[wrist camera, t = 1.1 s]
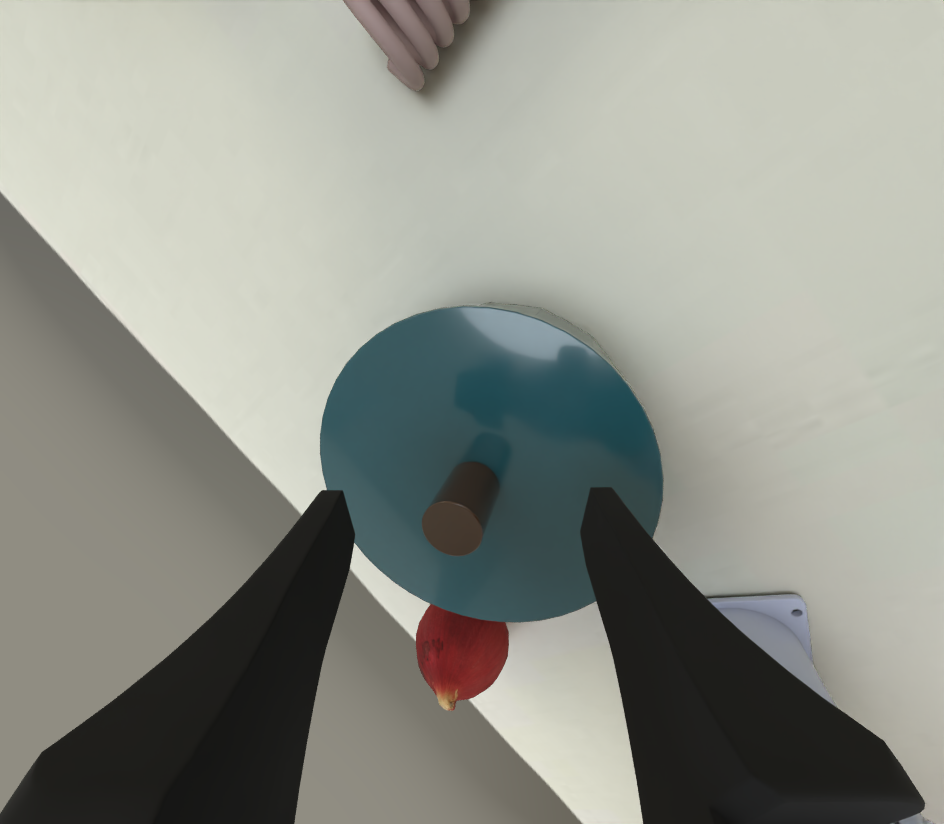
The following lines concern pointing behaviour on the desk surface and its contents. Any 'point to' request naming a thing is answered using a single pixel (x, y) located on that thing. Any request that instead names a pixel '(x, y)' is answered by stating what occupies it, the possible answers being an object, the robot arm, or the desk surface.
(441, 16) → the coil
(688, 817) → the robot arm
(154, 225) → the desk surface
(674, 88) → the desk surface
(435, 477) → the pot lid
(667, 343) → the desk surface
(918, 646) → the desk surface
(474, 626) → the onion
